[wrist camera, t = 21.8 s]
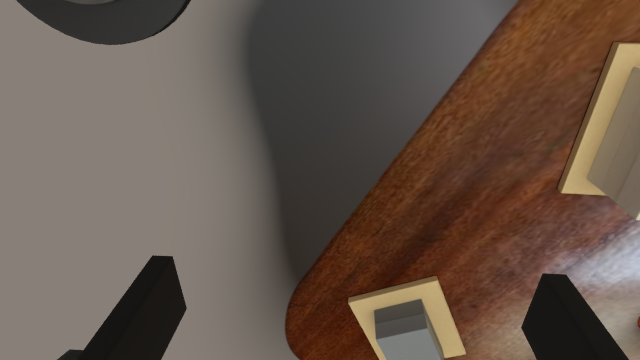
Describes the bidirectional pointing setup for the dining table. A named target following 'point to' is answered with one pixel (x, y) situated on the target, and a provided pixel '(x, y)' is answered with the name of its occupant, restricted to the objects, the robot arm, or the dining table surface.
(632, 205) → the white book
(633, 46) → the cream box
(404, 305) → the grey stack
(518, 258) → the dining table surface
